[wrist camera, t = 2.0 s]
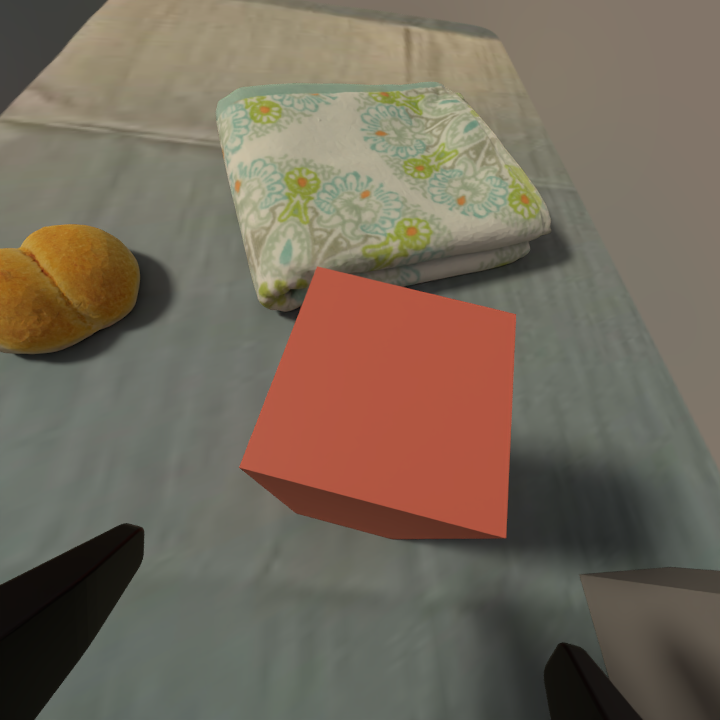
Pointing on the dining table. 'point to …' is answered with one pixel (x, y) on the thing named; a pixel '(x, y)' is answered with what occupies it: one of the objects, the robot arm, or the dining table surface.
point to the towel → (370, 186)
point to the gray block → (660, 638)
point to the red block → (390, 412)
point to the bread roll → (63, 288)
